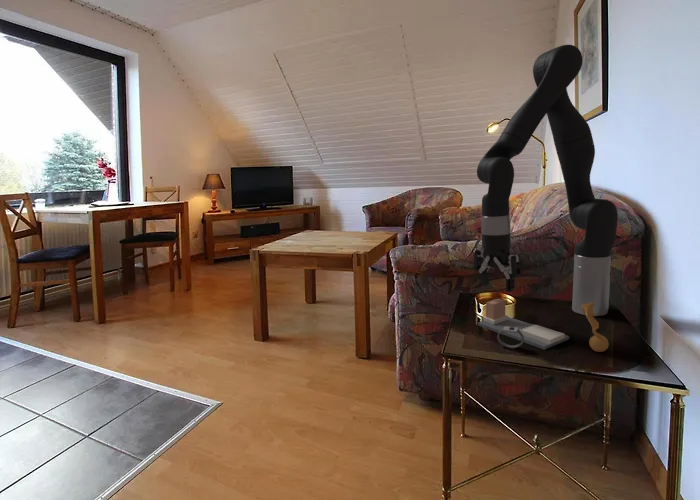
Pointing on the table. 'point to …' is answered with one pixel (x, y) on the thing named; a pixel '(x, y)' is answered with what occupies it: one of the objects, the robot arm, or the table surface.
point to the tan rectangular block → (495, 311)
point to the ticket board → (528, 333)
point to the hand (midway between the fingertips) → (497, 288)
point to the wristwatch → (510, 330)
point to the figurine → (597, 340)
